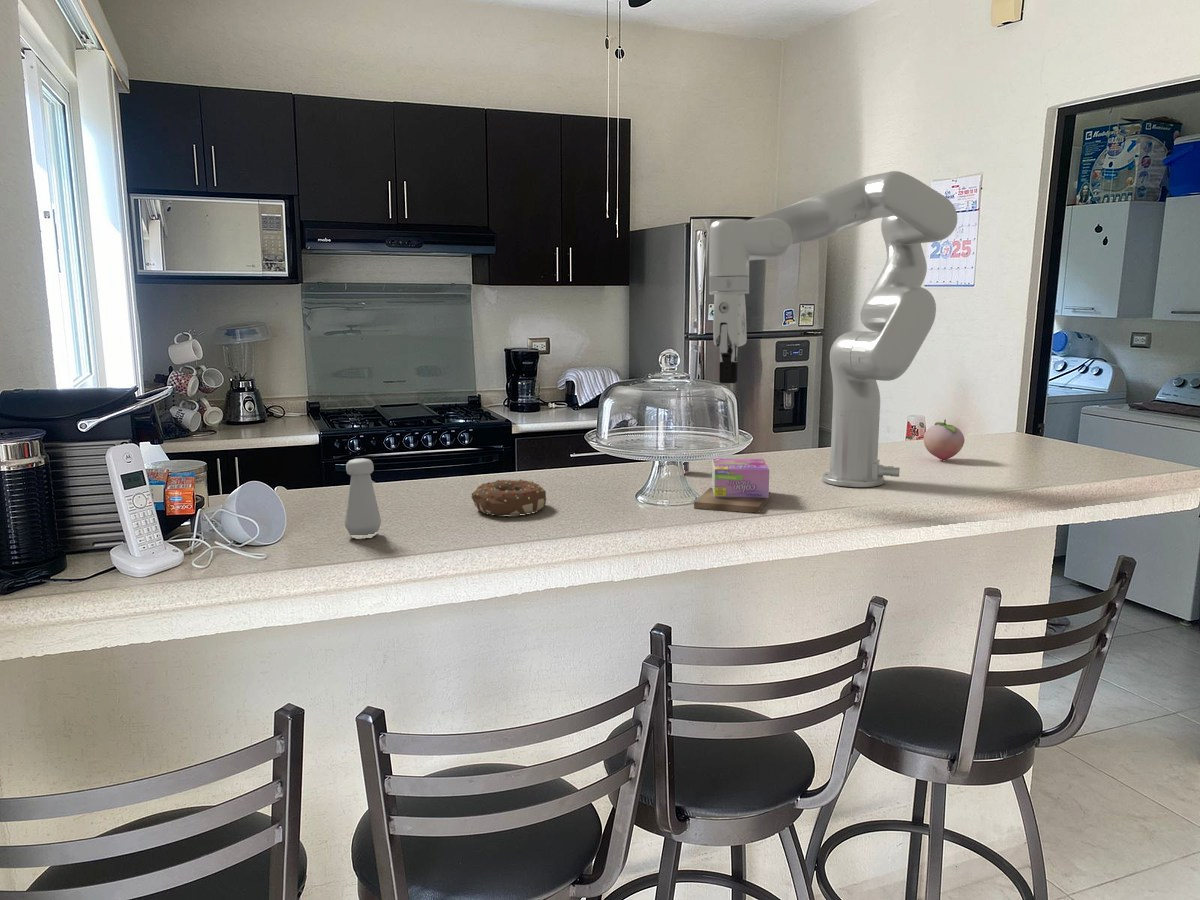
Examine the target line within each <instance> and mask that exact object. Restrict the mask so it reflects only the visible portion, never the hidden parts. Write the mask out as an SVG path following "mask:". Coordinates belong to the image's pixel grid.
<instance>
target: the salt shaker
mask: <svg viewBox="0 0 1200 900" xmlns="http://www.w3.org/2000/svg"><path fill="white" fill-rule="evenodd" d="M373 462H374V461H372V460H371V459H370V458H363V457H361V458H353V459H350V460H348V461H347V462H346V465H345V470H346V474H347V475H349V476H350V483H349V490H348V496H347V501H346V502H347V504H346V509H345V518H344V527H345V528H346V530H347V533H349V535H350V536H351V535H368V534H374V533H375V532H377V531H378V532H379V530H380V528H381V525H382V519H381V515H380V511H379V506H378V501H377V497H376V493H375V488H374V485H373V480H372V477H371V474H372V473H373V472H374V470H375V469H374V467H375V466H374V463H373Z"/></svg>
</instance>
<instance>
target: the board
mask: <svg viewBox="0 0 1200 900" xmlns="http://www.w3.org/2000/svg"><path fill="white" fill-rule="evenodd" d="M770 499H771V491H769V498H714V494H713V488H712V487H709V488H708V489H707V490H706V491H705V492H703V494H701V495H700V496H699V497H698V498H696V500H695V501H693V509H697V508H703V509H702V510H710V509H715V510H714V511H723V510H726V511H725V512H735V511H739V513H748V512H755V513H754V514H759V513H760V512H761V510H762V509H763V508H764V507H763V506H766V504H767V503H768V502H769V500H770ZM759 511H760V512H759Z"/></svg>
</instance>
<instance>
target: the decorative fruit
mask: <svg viewBox="0 0 1200 900" xmlns="http://www.w3.org/2000/svg"><path fill="white" fill-rule="evenodd" d="M943 420H944V422H941V421H940V422H939V421H936V422H935V423H934V425H932V426H929V427H928V429H927V430H926V431H925V432H924V435H923V445H924V447H925V449H926V450H927V451H928V453H930V454H931V455H932V456H934V457H936V458H937V459H939V460H941V459H942V460H945V461H947V460H949V459H951V458H953V457H954V456H956V455H958V453H959V452H960V451H961V450H962V448H963V446H964V444H965V436H964V434H963V432H962V430H960V428H958V427H956V426H955V425H952V424H947V422H946V419H943ZM942 460H941V461H942Z"/></svg>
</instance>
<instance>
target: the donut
mask: <svg viewBox="0 0 1200 900" xmlns="http://www.w3.org/2000/svg"><path fill="white" fill-rule="evenodd" d="M470 498H471V499H472V501H473V503H474V507H476V509H477V511H478V512H480V513H482V512H484V513H483V514H485V513H488V514H494V515H520V514H527V513H532V512H536V511H538V510H539V511H541V510H542V509H543V508H544V507H545V505H546V503H547V491H546V490H545V489H544V487H542V486H540V484H538V483H535V482H534V481H531V480H529V481H528V480H525V479H524V480H523V479H519V480H517V479H516V480H511V479H510V480H509V479H508V480H507V479H501V480H500V479H496V480H495V481H490V482H489V481H488V482H487V483H485V482H482V483H480V485H478V486H477V488H476V490H474V491H473V492H472V493H471V496H470ZM539 511H538V512H539ZM536 513H537V512H536ZM488 514H487V515H488Z"/></svg>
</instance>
